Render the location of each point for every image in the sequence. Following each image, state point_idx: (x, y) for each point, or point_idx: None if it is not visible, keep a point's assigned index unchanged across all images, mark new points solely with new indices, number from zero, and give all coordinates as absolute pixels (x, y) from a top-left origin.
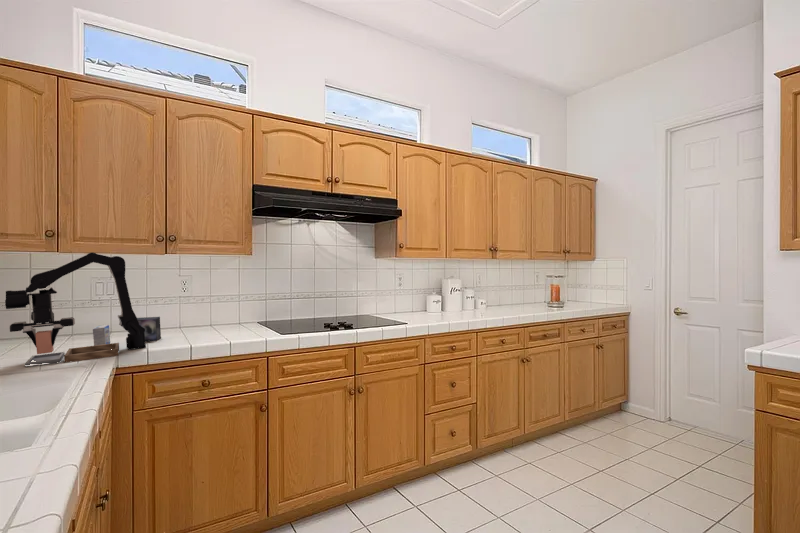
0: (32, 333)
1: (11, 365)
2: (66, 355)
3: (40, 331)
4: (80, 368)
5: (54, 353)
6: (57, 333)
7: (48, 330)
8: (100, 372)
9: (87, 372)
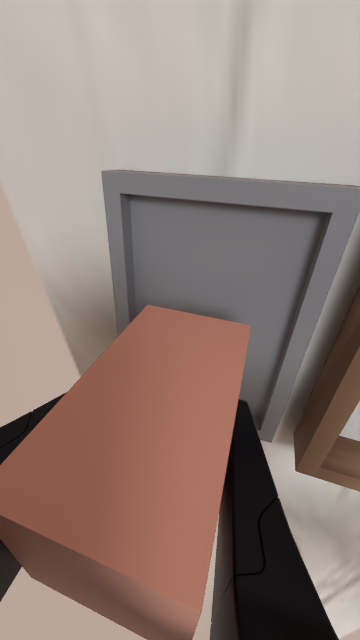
0: (10, 575)
1: (57, 280)
2: (309, 471)
3: (22, 537)
4: (320, 553)
5: (266, 206)
6: (296, 567)
7: (132, 582)
8: (351, 617)
9: (322, 593)
